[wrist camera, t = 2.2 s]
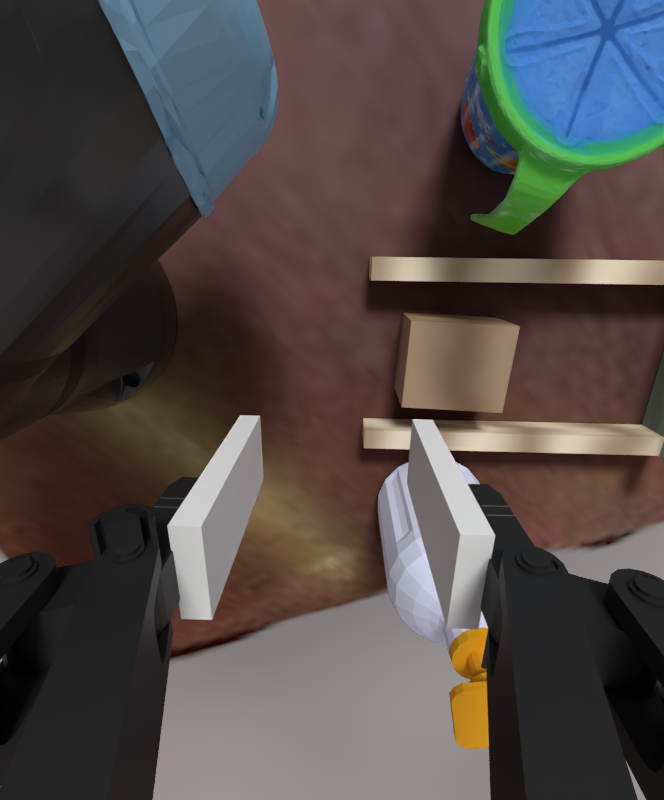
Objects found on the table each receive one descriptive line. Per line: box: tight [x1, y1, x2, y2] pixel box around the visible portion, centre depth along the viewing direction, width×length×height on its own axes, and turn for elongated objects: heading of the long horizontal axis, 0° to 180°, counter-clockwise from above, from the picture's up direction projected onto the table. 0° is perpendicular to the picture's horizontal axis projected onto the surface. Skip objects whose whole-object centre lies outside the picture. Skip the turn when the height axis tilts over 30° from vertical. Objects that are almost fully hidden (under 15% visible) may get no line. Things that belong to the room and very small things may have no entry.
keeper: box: [394, 312, 520, 413], centre depth 29 cm, size 7×6×4 cm
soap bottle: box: [378, 462, 489, 749], centre depth 24 cm, size 9×9×25 cm
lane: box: [362, 257, 664, 458], centre depth 28 cm, size 24×14×5 cm, turn 89°
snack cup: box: [461, 0, 664, 235], centre depth 21 cm, size 16×10×10 cm
